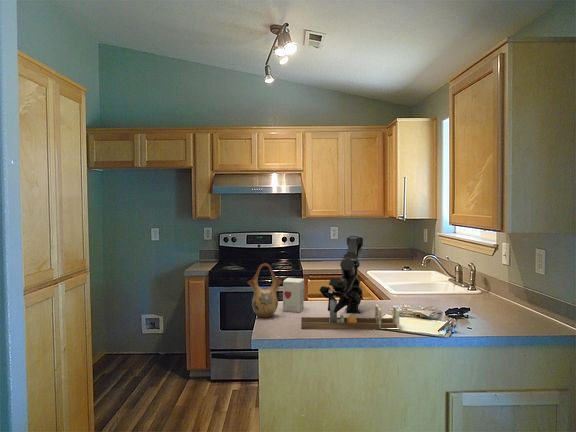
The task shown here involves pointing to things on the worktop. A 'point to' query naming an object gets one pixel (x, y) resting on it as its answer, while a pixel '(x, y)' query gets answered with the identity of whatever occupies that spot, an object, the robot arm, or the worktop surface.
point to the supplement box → (293, 294)
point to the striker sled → (334, 315)
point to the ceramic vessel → (264, 295)
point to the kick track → (361, 323)
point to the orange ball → (351, 319)
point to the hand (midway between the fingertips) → (331, 311)
